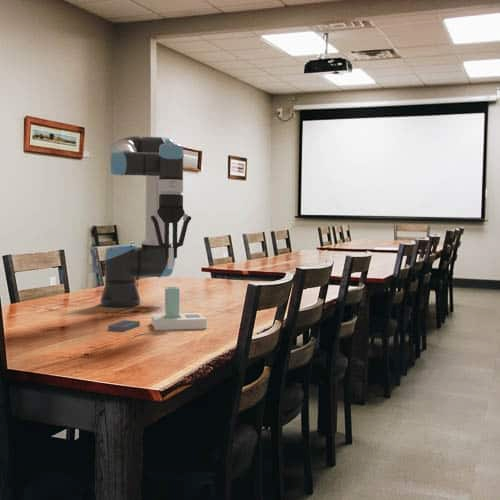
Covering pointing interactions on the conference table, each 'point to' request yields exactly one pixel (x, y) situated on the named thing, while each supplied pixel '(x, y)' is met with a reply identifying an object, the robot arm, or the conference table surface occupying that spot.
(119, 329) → the phone
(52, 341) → the conference table surface
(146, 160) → the robot arm
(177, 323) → the outlet board
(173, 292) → the pale green block
